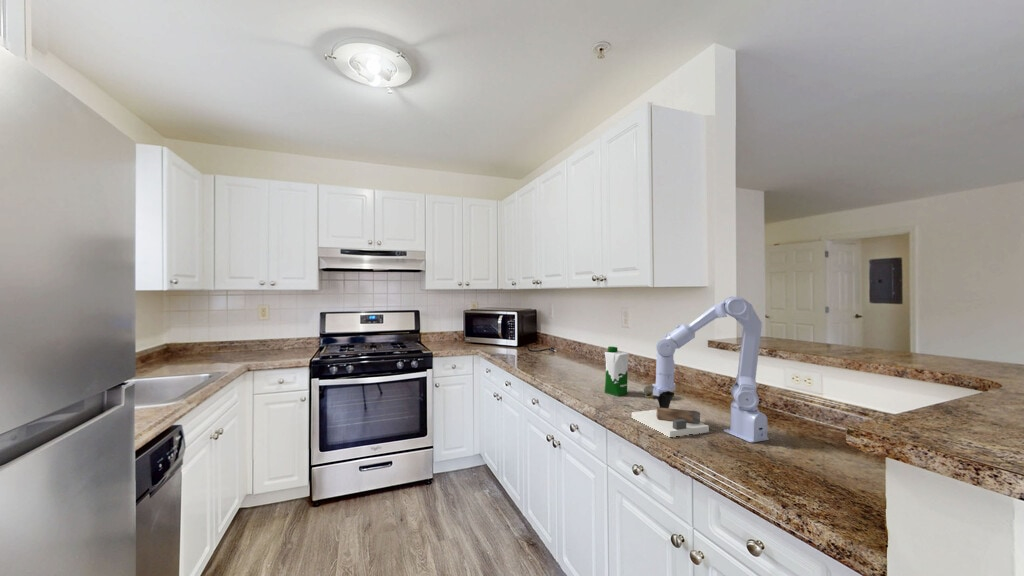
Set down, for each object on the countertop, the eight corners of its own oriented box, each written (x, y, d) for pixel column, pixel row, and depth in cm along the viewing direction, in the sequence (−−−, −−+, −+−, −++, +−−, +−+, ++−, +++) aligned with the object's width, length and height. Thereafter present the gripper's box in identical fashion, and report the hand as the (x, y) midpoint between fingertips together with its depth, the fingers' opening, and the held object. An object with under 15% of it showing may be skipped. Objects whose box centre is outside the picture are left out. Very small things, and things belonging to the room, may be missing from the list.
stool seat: (708, 432, 117) (709, 418, 117) (669, 438, 111) (670, 423, 111) (667, 413, 133) (667, 401, 133) (631, 418, 128) (631, 405, 128)
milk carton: (612, 389, 165) (613, 345, 165) (630, 393, 159) (631, 348, 159) (601, 392, 160) (602, 347, 160) (619, 397, 153) (620, 350, 153)
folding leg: (698, 420, 121) (698, 411, 121) (701, 423, 118) (701, 414, 118) (656, 415, 124) (656, 407, 124) (657, 419, 121) (658, 410, 121)
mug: (643, 393, 162) (656, 374, 161) (663, 407, 155) (676, 388, 154) (638, 392, 156) (651, 373, 155) (657, 407, 150) (671, 387, 149)
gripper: (661, 368, 133) (661, 405, 132) (644, 374, 122) (643, 414, 122) (681, 372, 128) (680, 410, 128) (665, 378, 117) (664, 420, 117)
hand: (663, 412), depth 125 cm, fingers closed
